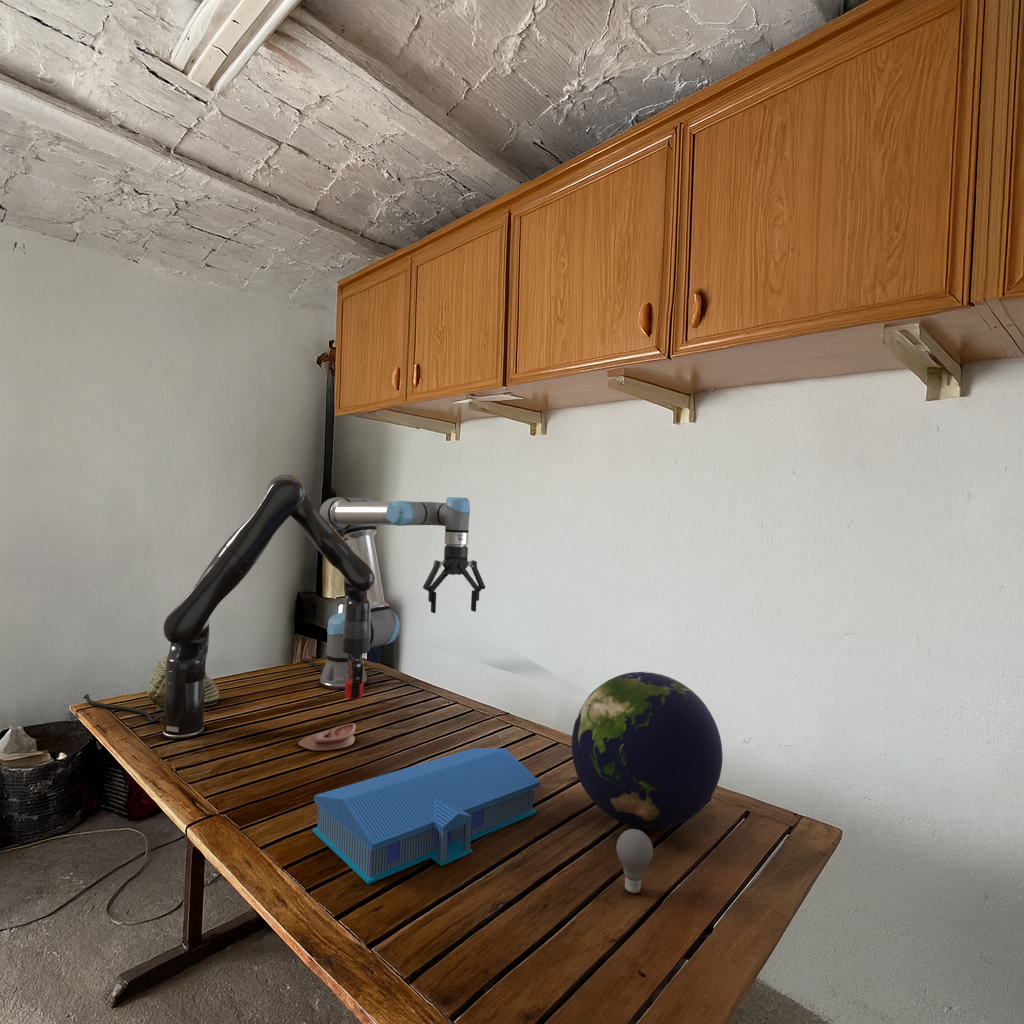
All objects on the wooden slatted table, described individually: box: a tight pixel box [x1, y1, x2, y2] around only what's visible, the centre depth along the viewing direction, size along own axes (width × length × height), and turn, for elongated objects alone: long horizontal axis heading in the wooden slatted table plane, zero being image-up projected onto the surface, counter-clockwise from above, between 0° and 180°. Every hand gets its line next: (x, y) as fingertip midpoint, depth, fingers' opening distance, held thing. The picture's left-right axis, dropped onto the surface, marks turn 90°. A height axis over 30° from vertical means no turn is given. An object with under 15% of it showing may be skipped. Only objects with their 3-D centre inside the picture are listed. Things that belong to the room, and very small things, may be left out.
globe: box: [571, 671, 724, 831], centre depth 129 cm, size 30×30×30 cm
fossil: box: [147, 654, 221, 712], centre depth 185 cm, size 9×18×15 cm, turn 132°
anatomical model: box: [297, 722, 357, 751], centre depth 162 cm, size 13×4×12 cm
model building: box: [312, 747, 541, 885], centre depth 124 cm, size 39×24×10 cm, turn 132°
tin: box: [344, 679, 364, 700], centre depth 180 cm, size 5×5×4 cm
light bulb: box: [615, 828, 654, 894], centre depth 106 cm, size 6×6×10 cm
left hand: (353, 694), depth 180 cm, fingers closed on tin, 5 cm apart
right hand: (453, 611), depth 203 cm, fingers open, 13 cm apart
